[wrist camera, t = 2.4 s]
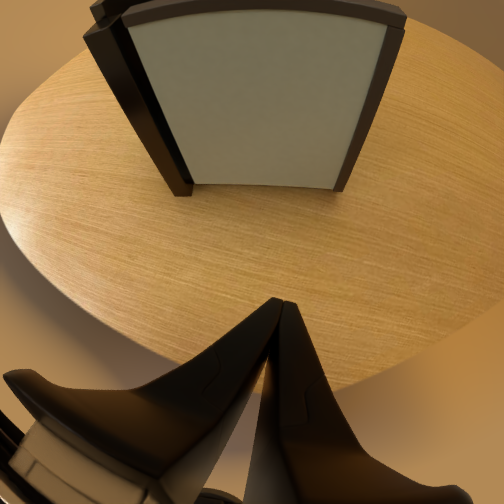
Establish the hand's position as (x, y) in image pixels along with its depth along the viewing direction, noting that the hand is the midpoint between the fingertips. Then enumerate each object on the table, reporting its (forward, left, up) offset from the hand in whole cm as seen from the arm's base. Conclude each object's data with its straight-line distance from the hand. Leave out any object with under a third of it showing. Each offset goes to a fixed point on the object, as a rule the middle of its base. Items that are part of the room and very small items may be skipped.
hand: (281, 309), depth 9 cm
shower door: (+11, +1, -10) cm, 15 cm away
